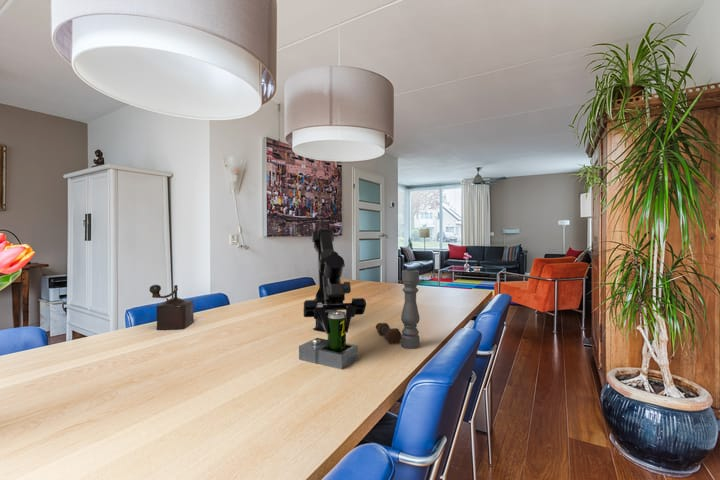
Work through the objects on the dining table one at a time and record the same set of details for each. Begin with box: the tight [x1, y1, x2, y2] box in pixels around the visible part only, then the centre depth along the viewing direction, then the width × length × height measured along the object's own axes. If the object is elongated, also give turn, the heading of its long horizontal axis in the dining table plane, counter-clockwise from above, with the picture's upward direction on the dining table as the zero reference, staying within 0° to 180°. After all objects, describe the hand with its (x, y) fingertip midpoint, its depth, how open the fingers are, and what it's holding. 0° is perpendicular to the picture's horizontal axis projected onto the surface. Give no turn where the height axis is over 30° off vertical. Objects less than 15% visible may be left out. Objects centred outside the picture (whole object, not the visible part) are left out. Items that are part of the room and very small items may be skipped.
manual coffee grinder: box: [149, 284, 195, 331], centre depth 134 cm, size 16×11×18 cm
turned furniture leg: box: [400, 269, 420, 350], centre depth 113 cm, size 6×6×25 cm
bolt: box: [375, 322, 402, 345], centre depth 123 cm, size 6×5×15 cm
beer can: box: [327, 310, 347, 353], centre depth 100 cm, size 5×5×12 cm
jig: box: [298, 337, 359, 370], centre depth 102 cm, size 15×9×5 cm, turn 61°
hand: (337, 332), depth 99 cm, fingers closed on beer can, 5 cm apart
